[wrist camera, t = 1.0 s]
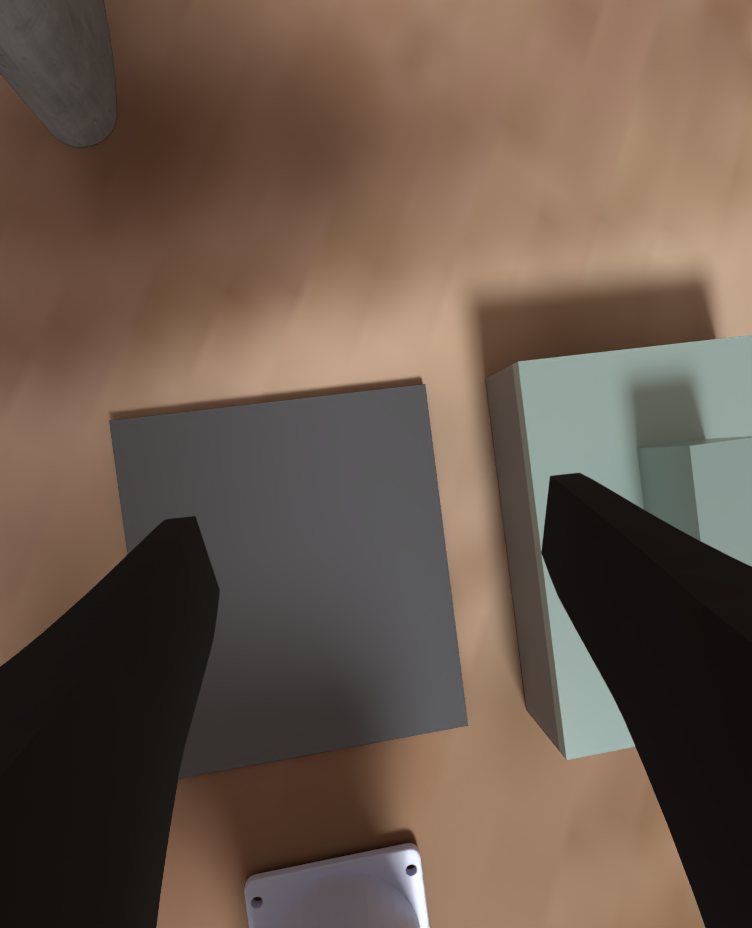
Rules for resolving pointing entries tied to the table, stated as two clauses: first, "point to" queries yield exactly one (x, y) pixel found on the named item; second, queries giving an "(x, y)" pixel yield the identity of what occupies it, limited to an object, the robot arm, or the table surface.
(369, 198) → the table surface
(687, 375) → the lid
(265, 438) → the mat
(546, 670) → the storage box
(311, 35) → the table surface
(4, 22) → the hip flask
